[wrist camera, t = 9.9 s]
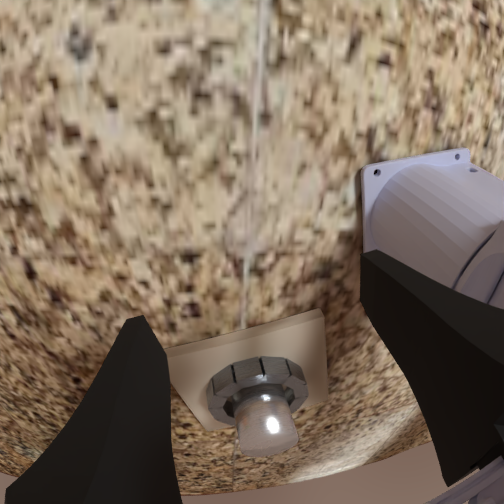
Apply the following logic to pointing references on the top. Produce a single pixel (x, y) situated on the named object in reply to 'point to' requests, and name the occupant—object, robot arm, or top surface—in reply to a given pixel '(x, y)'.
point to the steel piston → (263, 420)
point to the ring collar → (255, 383)
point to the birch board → (248, 346)
